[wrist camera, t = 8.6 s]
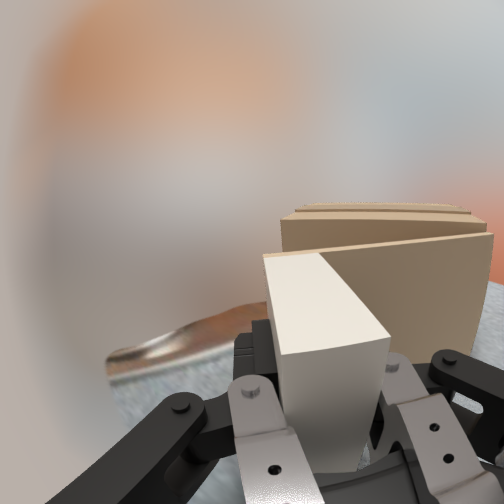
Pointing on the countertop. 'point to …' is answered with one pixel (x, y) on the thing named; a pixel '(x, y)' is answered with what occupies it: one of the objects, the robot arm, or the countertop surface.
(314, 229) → the kraft carton
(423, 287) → the carton flap
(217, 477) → the countertop surface
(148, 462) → the robot arm
